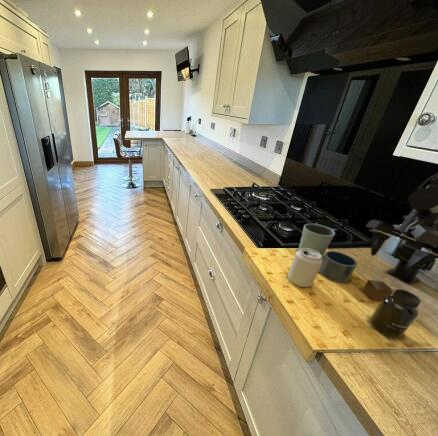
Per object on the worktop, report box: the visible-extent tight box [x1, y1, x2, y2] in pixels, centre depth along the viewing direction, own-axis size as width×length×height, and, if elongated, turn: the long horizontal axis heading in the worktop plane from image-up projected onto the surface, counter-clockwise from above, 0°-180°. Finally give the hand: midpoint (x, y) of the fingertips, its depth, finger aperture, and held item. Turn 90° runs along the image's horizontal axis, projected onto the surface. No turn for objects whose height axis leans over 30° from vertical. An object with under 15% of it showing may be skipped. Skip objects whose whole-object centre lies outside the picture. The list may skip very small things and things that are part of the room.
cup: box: [318, 250, 358, 283], centre depth 84 cm, size 9×9×7 cm
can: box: [287, 248, 323, 288], centre depth 79 cm, size 8×8×12 cm
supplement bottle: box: [369, 288, 422, 339], centre depth 63 cm, size 7×7×12 cm
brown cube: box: [362, 279, 394, 302], centre depth 76 cm, size 4×4×4 cm
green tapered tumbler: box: [297, 223, 336, 259], centre depth 94 cm, size 10×10×12 cm
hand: (389, 262), depth 71 cm, fingers open, 9 cm apart
